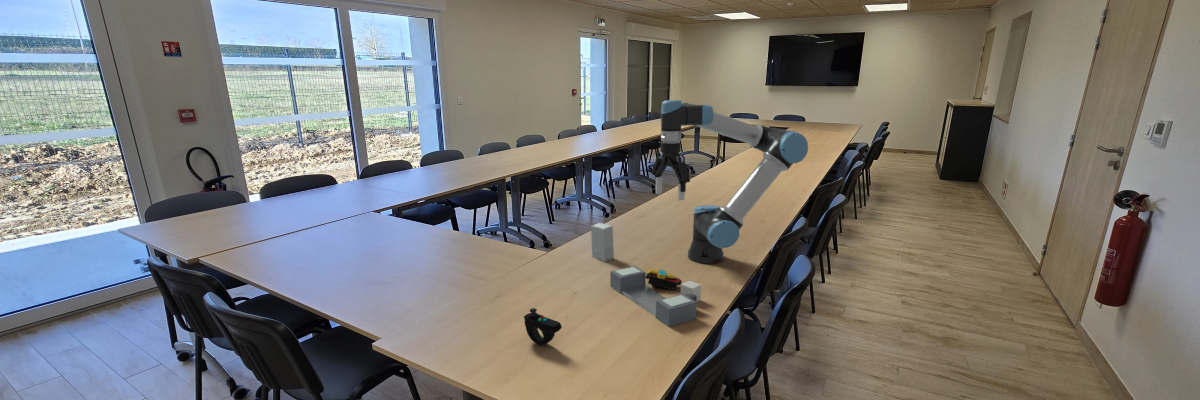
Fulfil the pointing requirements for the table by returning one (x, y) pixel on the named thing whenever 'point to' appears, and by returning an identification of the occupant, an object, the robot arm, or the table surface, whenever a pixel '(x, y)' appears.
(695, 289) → the block
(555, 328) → the controller
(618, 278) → the block
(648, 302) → the rail
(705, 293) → the table surface
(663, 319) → the block
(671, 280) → the gadget
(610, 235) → the skincare box
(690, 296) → the dark grey pebble
